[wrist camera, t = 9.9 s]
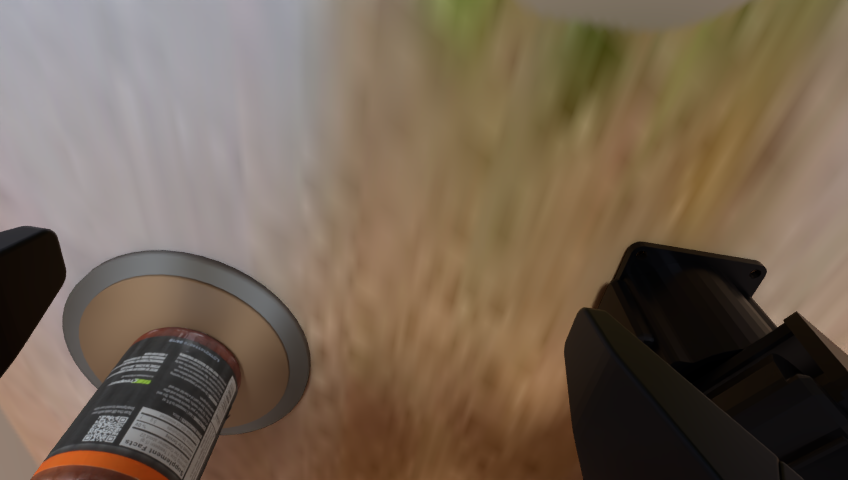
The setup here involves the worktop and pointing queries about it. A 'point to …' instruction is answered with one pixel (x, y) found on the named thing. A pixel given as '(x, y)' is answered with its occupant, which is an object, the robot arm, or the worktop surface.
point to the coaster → (191, 325)
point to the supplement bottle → (151, 412)
